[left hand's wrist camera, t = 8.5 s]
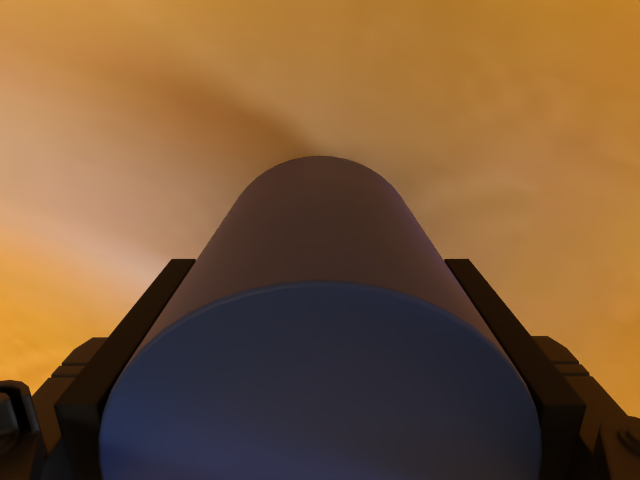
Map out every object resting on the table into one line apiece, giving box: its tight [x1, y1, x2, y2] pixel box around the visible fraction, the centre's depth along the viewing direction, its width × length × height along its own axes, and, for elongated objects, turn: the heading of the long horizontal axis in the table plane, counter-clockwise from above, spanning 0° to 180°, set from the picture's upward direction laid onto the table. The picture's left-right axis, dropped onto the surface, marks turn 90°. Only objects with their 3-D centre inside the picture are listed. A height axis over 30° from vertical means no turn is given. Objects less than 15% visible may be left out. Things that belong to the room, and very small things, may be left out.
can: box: [99, 156, 542, 480], centre depth 13 cm, size 8×8×11 cm
